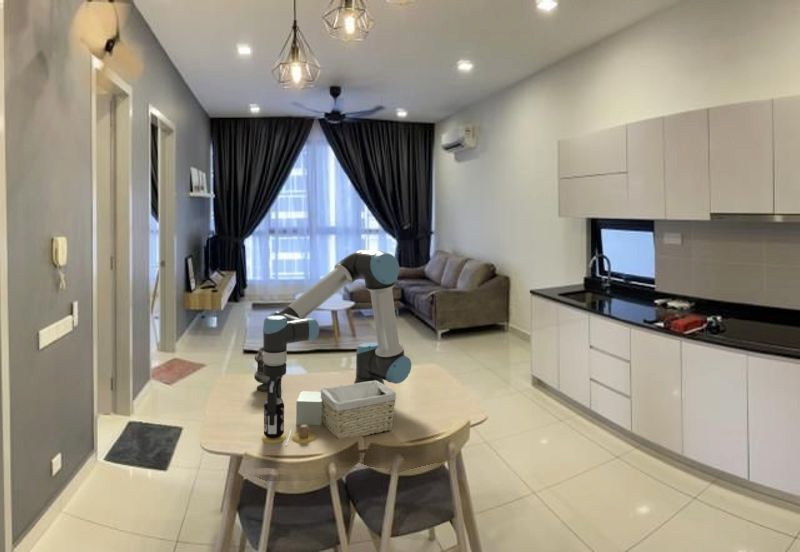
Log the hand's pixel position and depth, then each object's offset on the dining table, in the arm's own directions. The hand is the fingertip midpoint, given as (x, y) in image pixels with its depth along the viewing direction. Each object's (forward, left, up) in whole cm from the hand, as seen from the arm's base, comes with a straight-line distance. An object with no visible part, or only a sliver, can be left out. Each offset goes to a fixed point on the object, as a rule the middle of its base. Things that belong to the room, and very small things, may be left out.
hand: (274, 428), depth 166 cm
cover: (-15, -15, 0) cm, 22 cm away
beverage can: (0, 0, -3) cm, 3 cm away
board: (-5, 0, -5) cm, 7 cm away
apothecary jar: (+11, -51, -5) cm, 52 cm away
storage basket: (-28, -10, -5) cm, 30 cm away
